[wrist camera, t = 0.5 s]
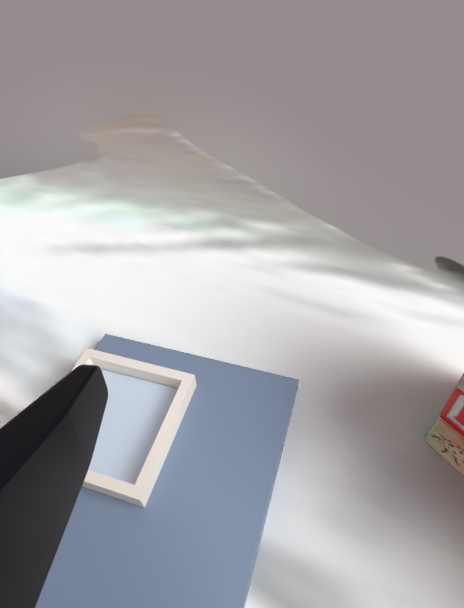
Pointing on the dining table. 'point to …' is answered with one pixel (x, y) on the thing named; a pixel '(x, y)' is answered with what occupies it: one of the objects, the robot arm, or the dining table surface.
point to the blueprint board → (172, 482)
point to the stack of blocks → (450, 429)
